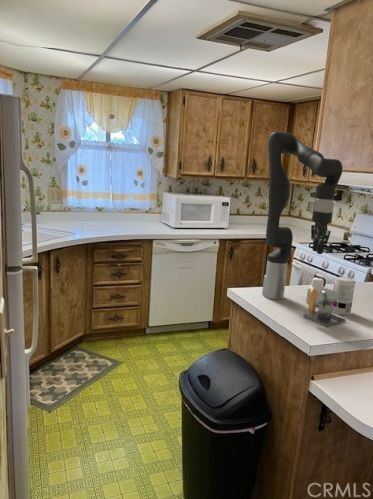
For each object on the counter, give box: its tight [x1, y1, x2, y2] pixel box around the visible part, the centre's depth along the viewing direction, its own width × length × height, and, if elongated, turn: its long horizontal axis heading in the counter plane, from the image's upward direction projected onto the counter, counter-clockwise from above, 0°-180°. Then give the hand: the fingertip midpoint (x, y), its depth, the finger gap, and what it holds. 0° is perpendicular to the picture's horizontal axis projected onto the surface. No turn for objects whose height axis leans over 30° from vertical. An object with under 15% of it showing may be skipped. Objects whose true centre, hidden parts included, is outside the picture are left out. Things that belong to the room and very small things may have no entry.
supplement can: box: [332, 276, 356, 316], centre depth 175 cm, size 8×8×15 cm
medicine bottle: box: [306, 276, 328, 307], centre depth 186 cm, size 7×7×12 cm
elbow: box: [307, 288, 336, 314], centre depth 163 cm, size 14×6×9 cm, turn 125°
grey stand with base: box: [302, 303, 347, 328], centre depth 166 cm, size 12×12×8 cm
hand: (317, 252), depth 165 cm, fingers open, 4 cm apart
